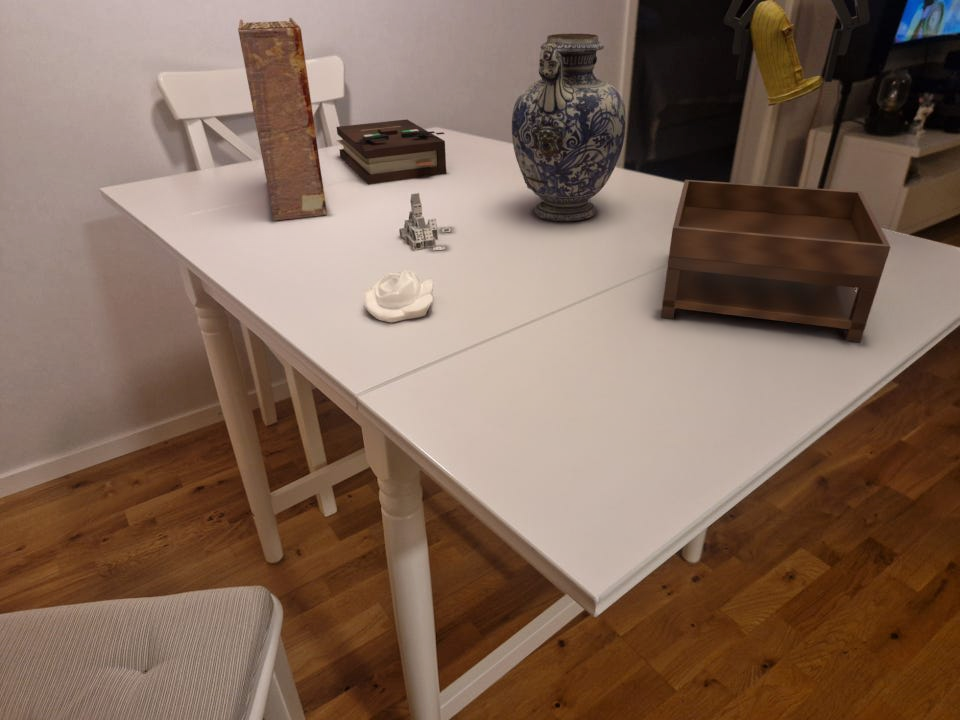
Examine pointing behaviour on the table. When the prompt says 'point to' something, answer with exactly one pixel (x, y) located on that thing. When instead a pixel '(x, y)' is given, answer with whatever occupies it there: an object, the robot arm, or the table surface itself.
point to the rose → (399, 297)
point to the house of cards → (420, 228)
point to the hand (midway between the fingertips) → (782, 79)
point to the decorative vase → (568, 129)
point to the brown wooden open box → (775, 254)
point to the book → (283, 117)
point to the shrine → (778, 55)
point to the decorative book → (392, 151)
